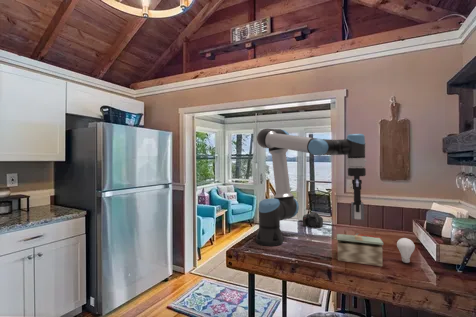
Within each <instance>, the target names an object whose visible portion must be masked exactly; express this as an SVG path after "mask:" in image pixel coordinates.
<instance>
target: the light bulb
mask: <svg viewBox="0 0 476 317" xmlns="http://www.w3.org/2000/svg"><path fill="white" fill-rule="evenodd" d="M415 245H416V244H414V242H413V240H411V239H409V238H407V237H402V238H399V239H398V240H397V242H396V247H397V249H398V250H399V253H400V256H401V261H402V262H403V263H404V264H409V263H410V262H411V260H410V259H411V256H412V254H413V253H414V251H415V247H416V246H415Z"/></svg>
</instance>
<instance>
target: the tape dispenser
mask: <svg viewBox="0 0 476 317" xmlns="http://www.w3.org/2000/svg"><path fill="white" fill-rule="evenodd" d="M355 235H357V236H364V237H374V238H380V239H381V240H382V236H378V235H370V234H362V233H359V232H358V233H355ZM381 246H382V247H383V245H381Z"/></svg>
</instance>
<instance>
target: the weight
mask: <svg viewBox="0 0 476 317" xmlns="http://www.w3.org/2000/svg"><path fill="white" fill-rule="evenodd" d="M350 203H351V219H352V220H355V219H354V205H353V203H354V201H351V202H350ZM364 206H365V205H364V202H362V201H361V219H358V220H362V221H365V207H364Z"/></svg>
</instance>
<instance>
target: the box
mask: <svg viewBox="0 0 476 317" xmlns="http://www.w3.org/2000/svg"><path fill="white" fill-rule="evenodd" d="M337 261H340V262H348V263H353V264H354V263H355V264H362V265H363V264H364V265H369V266H370V265H371V266H376V267H377V266H378V267H383V245H382V246H381V245H380V244H370V243H361V242H352V241H343V240H337Z"/></svg>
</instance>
